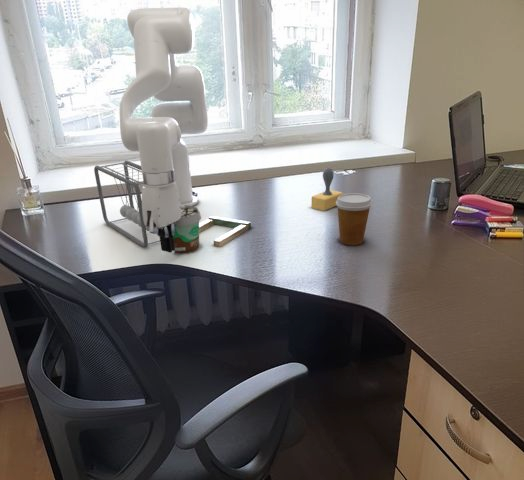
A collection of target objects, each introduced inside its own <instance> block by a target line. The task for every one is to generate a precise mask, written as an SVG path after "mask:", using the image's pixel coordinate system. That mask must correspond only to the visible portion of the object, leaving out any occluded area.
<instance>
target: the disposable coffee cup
mask: <svg viewBox="0 0 524 480" xmlns="http://www.w3.org/2000/svg"><path fill="white" fill-rule="evenodd" d="M336 205H337V206H336V207H337V218H338V219H337V220H338V232H339V242H340V243H341V244H343V245H347V246H356V245H361V244H362V243H363V242H364V238H365V233H366V229H367V223H368V220H369V219H368V218H369V214H370V209H371V207H372V205H373V201H372V198H371V196H370V195H368V194H364V193H360V192H359V193H358V192H357V193H356V192H353V193H352V192H350V193H349V192H348V193H343V195H340V196H339V197H338V199H337V201H336Z"/></svg>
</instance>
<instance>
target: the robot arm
mask: <svg viewBox="0 0 524 480" xmlns="http://www.w3.org/2000/svg"><path fill="white" fill-rule="evenodd" d="M126 22H127V23H126V24H127V26H128V30H129V32H130V34H131V36H132V38H133V41H134V42H133V43H134V60H135V78H134V79H133V80H132V81H131V82H130V83H129V84H128V86H127V88H126V89H125V91H124V93H123V95H122V97H121V100H120V103H119V131H120V138H121V142H122V145H123V146H124V148H125V149H127V150H128V151H129V152H138V154H139V161H140V166H141V168H142V170H141V171H142V173H141V174H142V182H144V184H143V186H142V187H141V200H142V212H143V221H144V225H145V226H150V227H149V231H148V233H149V234H153V235H156V236H157V237H159V240H160V242H159V243H160V250H161V251H162V252H165V253H173V252H175V251H174V250H175V246H174V238H173V235H174V233H175V226H176V225H177V221H178V220H179V219H180V218H181V212H182V209H185V205H187V206H193V207H194V206H195V205H197V204H198V203H199V199H198V197H196V196H195V195H194V194H193V185H192V175H191V166H190V156H189V148H188V146H187V144H186V142H185V141H184V140H183V139H182V136H183V135H200V134H203V133H205V132H206V131H207V129H208V124H209V121H208V119H209V118H208V108H207V97H206V88H205V87H206V86H205V81H204V80H205V79H204V76H203V72H202V71H201V69H200V68H199V67H198V66H197V65H194V64H180V65H179V64H177V58H176V57H177V56H176V55H183V54H185V55H186V54H190V53H191V52H192V51H193V48H194V45H195V34H196V27H195V20H194V15H193V14H192V12H191V10H190V9H189V8H187V7H146V8H136V9H132V10H130V12H128V14H127V17H126ZM152 97H153V98H154V99H155V100H157V101H159V102H160V103H156V104H155V105H154V106H153V107H152V108H151V111H150V117H149V116H148V117H147V116H146V117H133V115H134V112H135V110H136V109H137V108H138V106H140V104H142V103H143V102H145V101H147V100H148V99H150V98H152ZM162 229H163V230H162Z"/></svg>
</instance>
